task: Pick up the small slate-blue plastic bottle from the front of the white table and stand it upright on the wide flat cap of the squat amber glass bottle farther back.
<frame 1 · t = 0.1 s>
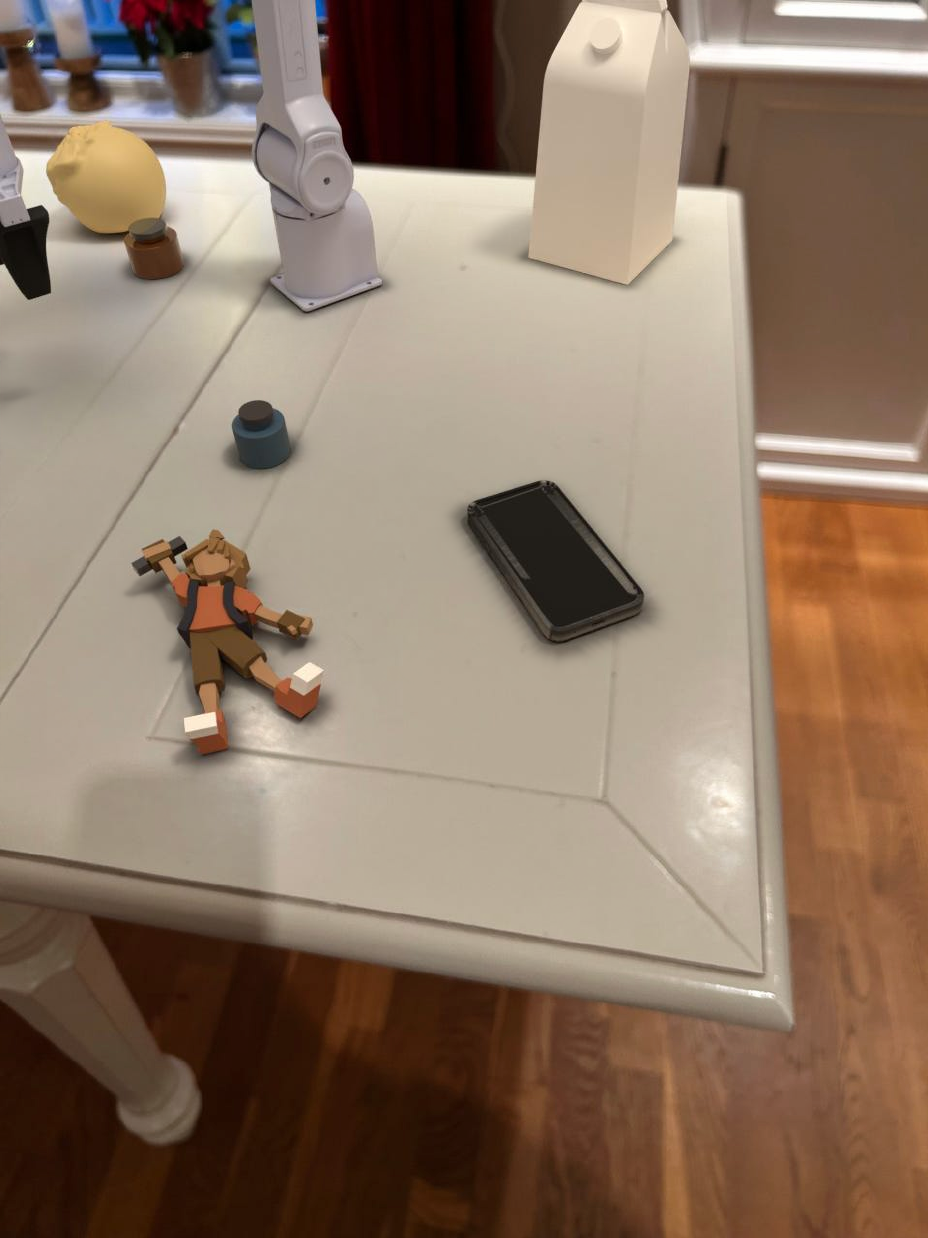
hand: (24, 277, 79), 10 cm above the table, tool pointing down, fingers open, 7 cm apart
slate bottle: (265, 452, 78), on the table
character figurine: (231, 646, 64), on the table
phone: (549, 562, 69), on the table
sculpture: (123, 224, 109), on the table
amber bottle: (158, 266, 101), on the table
milk: (600, 250, 102), on the table
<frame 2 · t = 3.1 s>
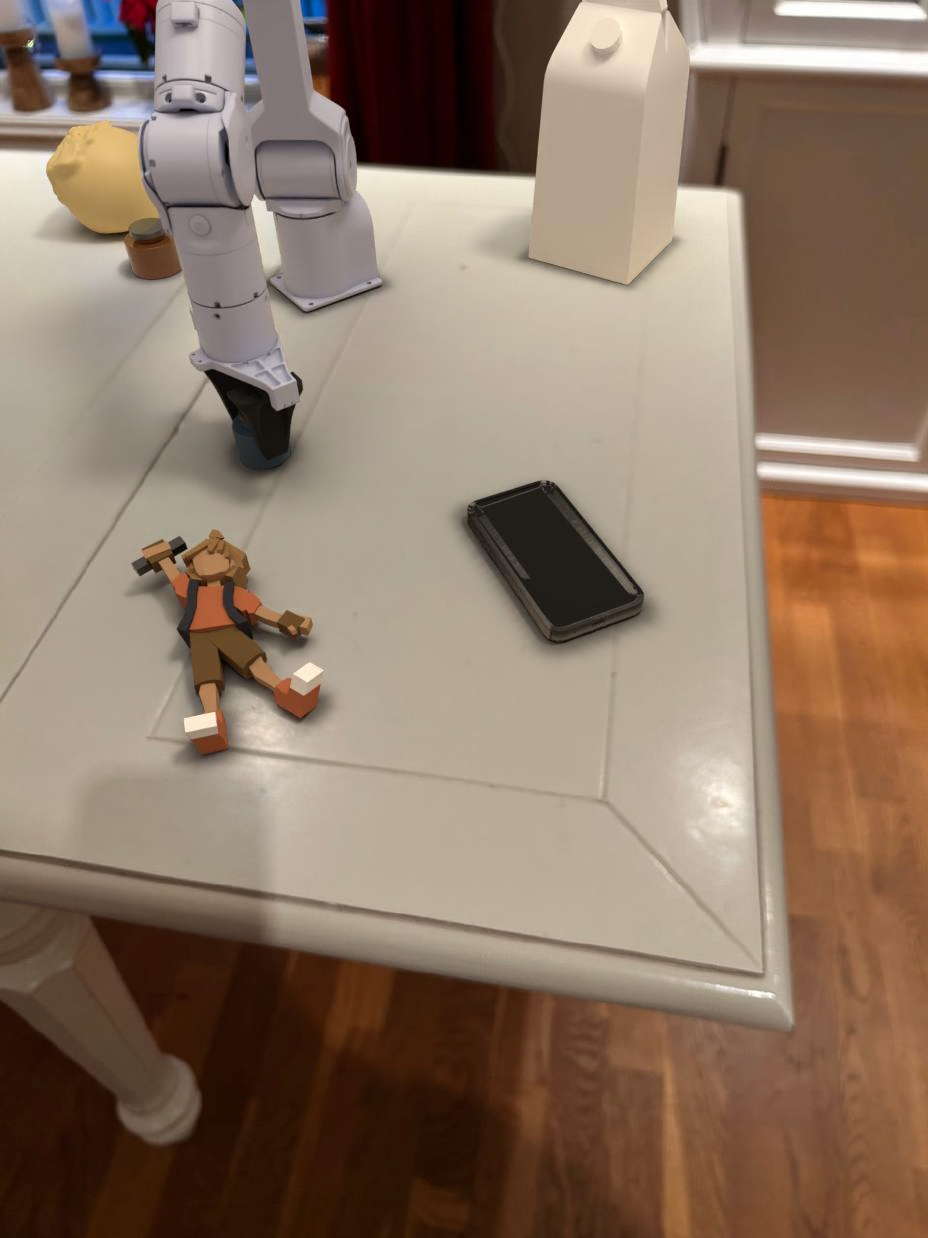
hand: (262, 439, 77), 1 cm above the table, tool pointing down, fingers closed on slate bottle, 4 cm apart
slate bottle: (265, 452, 78), on the table, touching gripper
everything else where it was.
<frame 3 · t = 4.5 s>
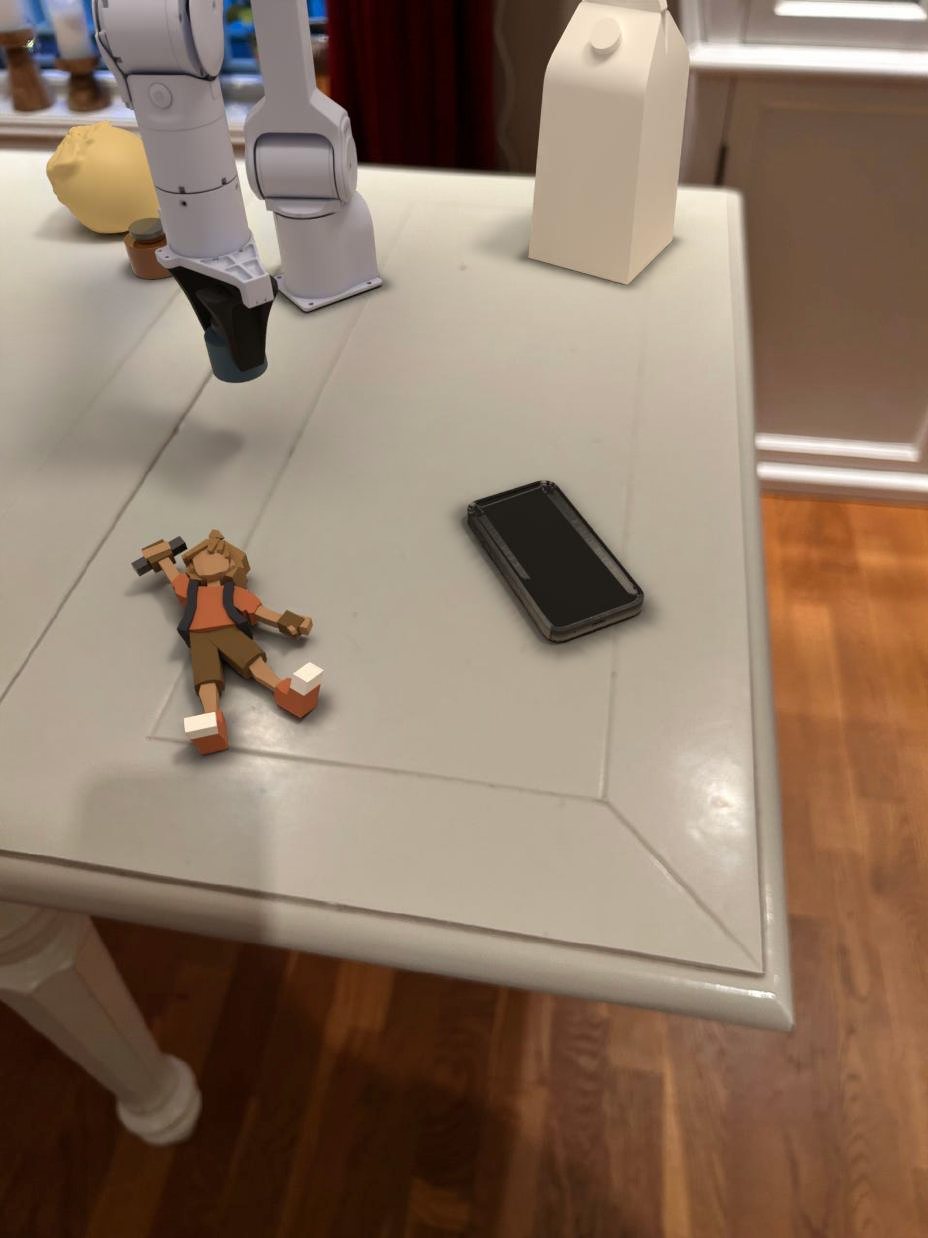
hand: (236, 351, 73), 9 cm above the table, tool pointing down, fingers closed on slate bottle, 4 cm apart
slate bottle: (240, 367, 74), point 8 cm above the table, touching gripper
everything else where it was.
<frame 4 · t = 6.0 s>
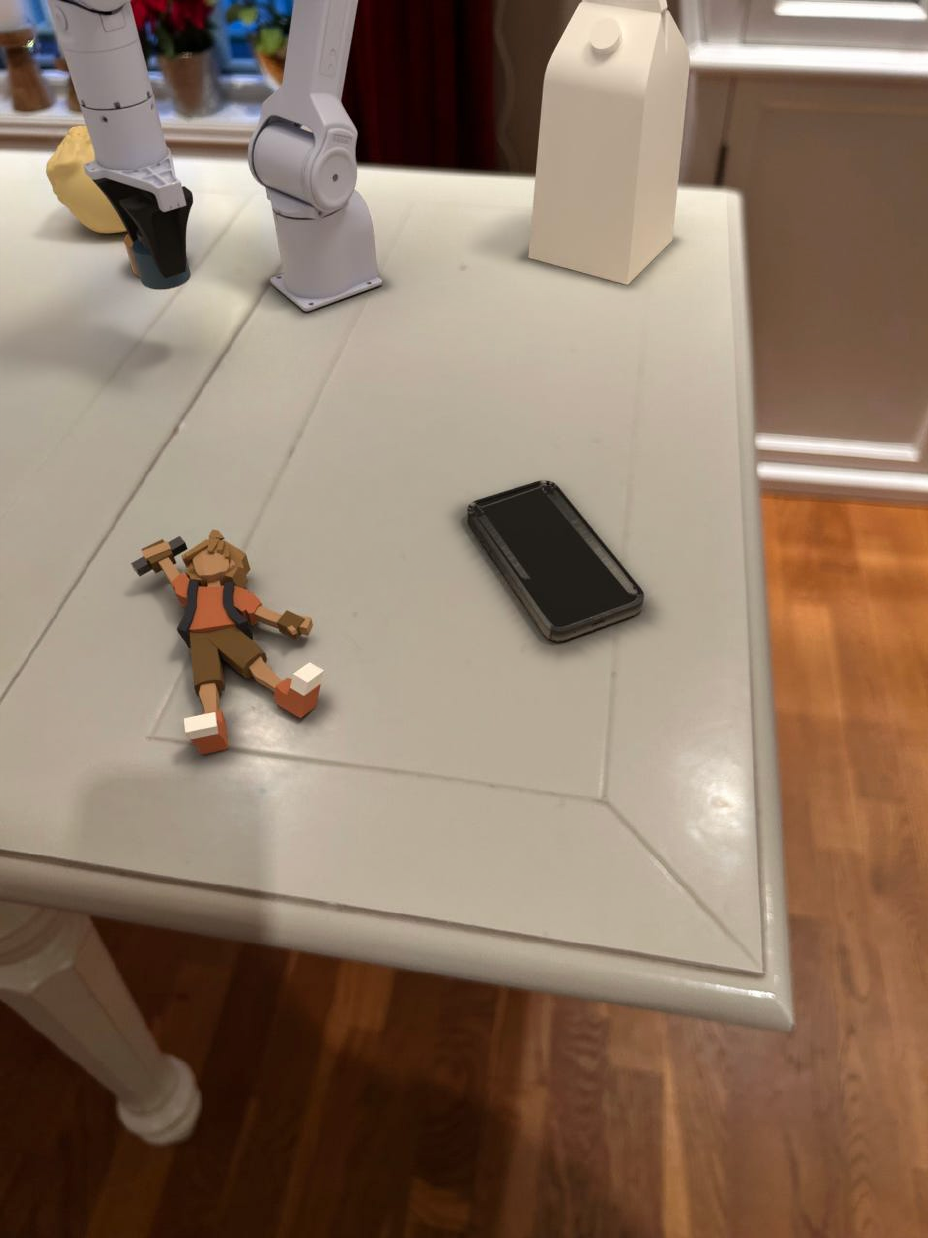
hand: (162, 262, 82), 9 cm above the table, tool pointing down, fingers closed on slate bottle, 4 cm apart
slate bottle: (166, 277, 83), point 8 cm above the table, touching gripper
everything else where it was.
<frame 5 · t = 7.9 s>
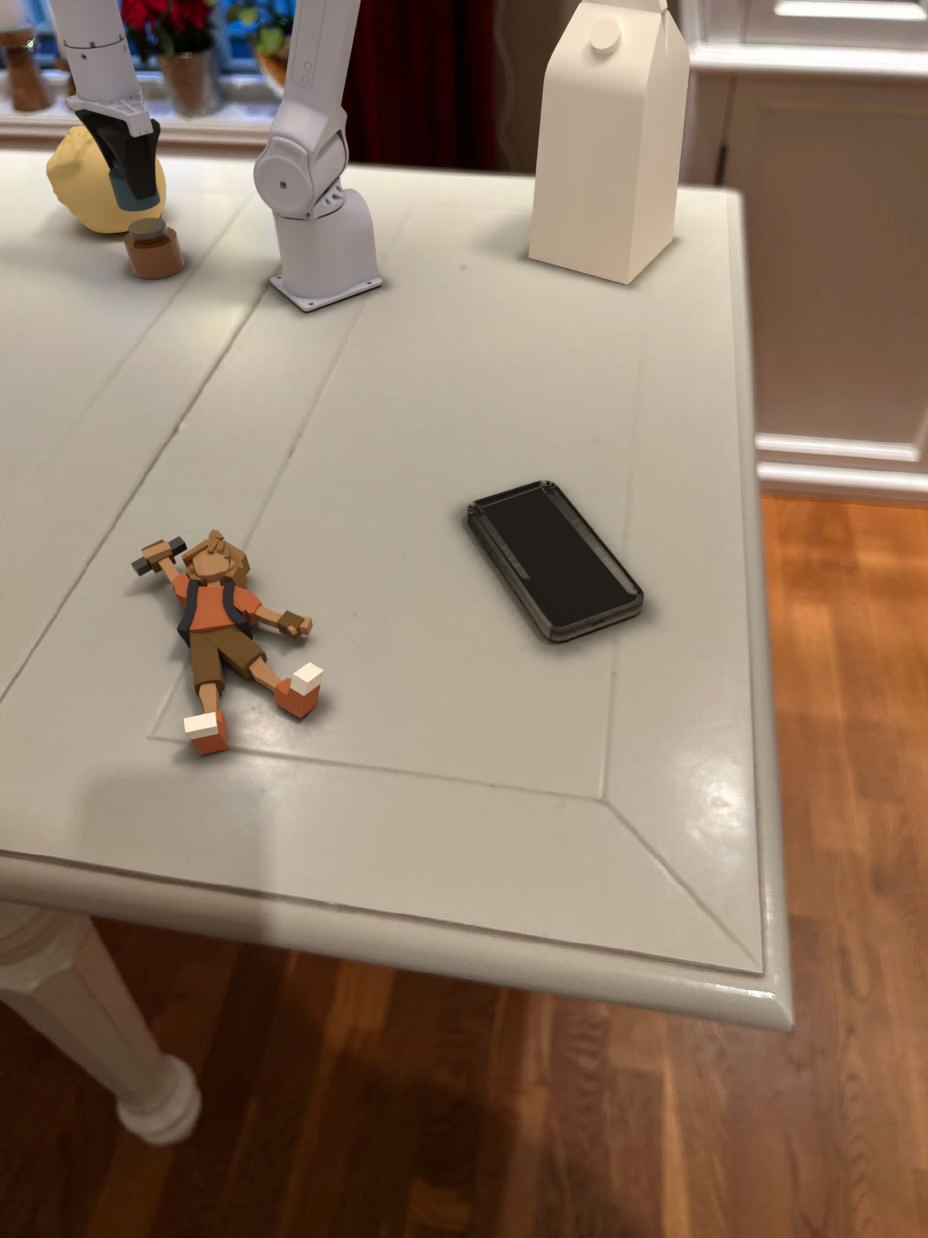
hand: (136, 188, 95), 9 cm above the table, tool pointing down, fingers closed on slate bottle, 4 cm apart
slate bottle: (139, 202, 96), point 7 cm above the table, touching gripper
everything else where it was.
when the fingers open (6 cm above the table, at t = 9.1 s): slate bottle stays where it is, resting on amber bottle.
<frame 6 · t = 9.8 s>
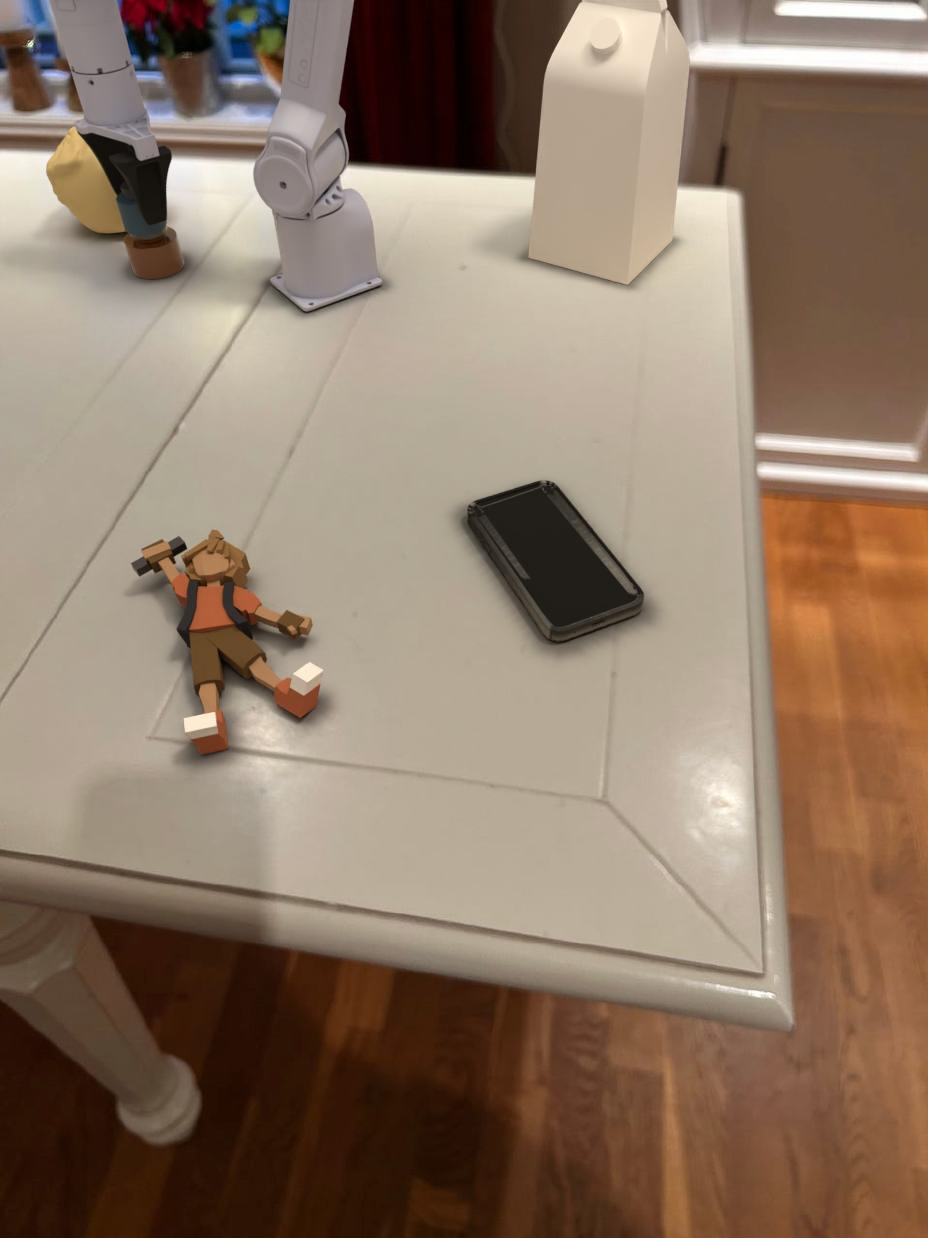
hand: (142, 208, 96), 6 cm above the table, tool pointing down, fingers open, 7 cm apart
slate bottle: (146, 226, 98), point 5 cm above the table, touching amber bottle
amber bottle: (158, 266, 101), on the table, touching slate bottle
everything else where it was.
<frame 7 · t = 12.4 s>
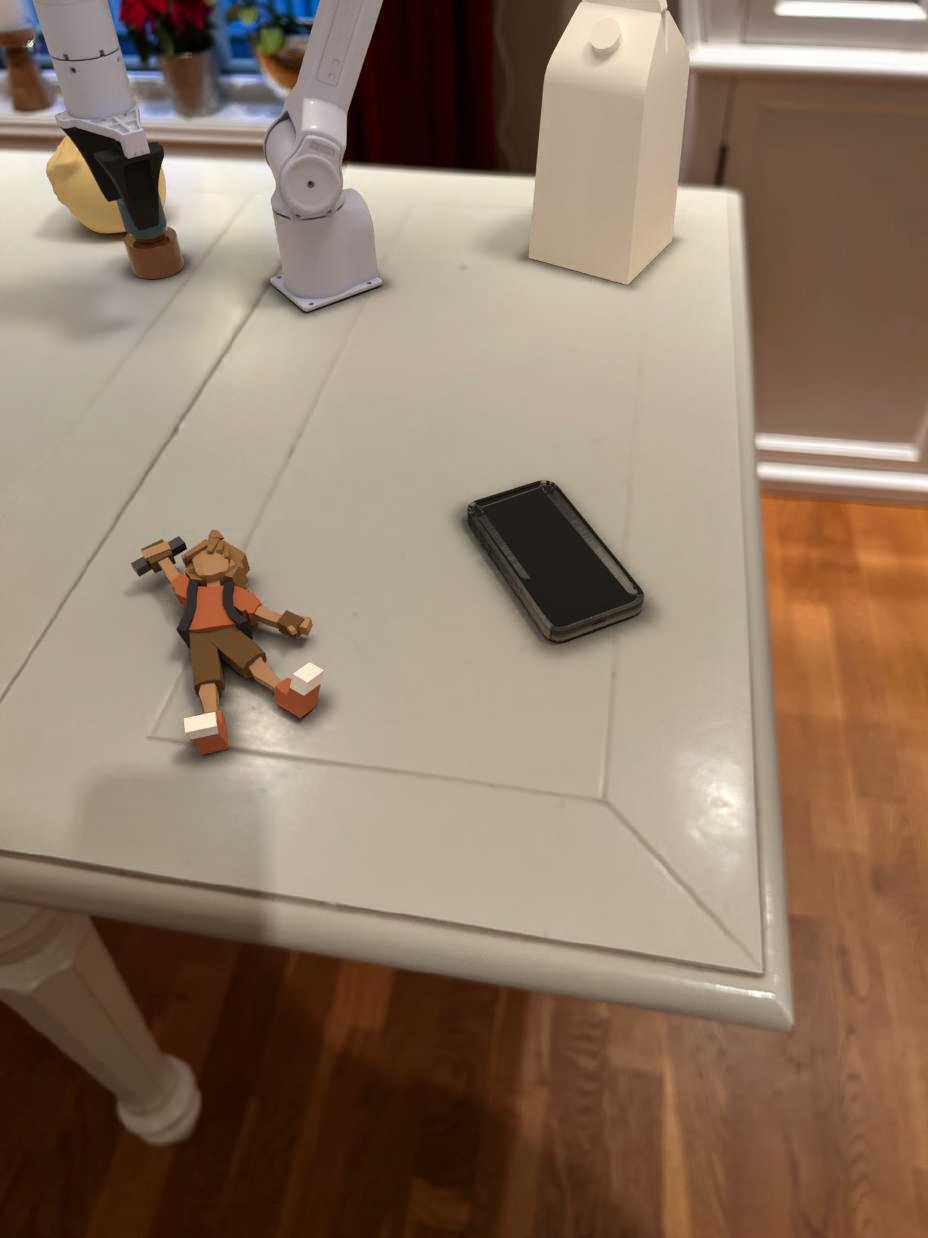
hand: (132, 212, 87), 10 cm above the table, tool pointing down, fingers open, 7 cm apart
nothing on the table moved.
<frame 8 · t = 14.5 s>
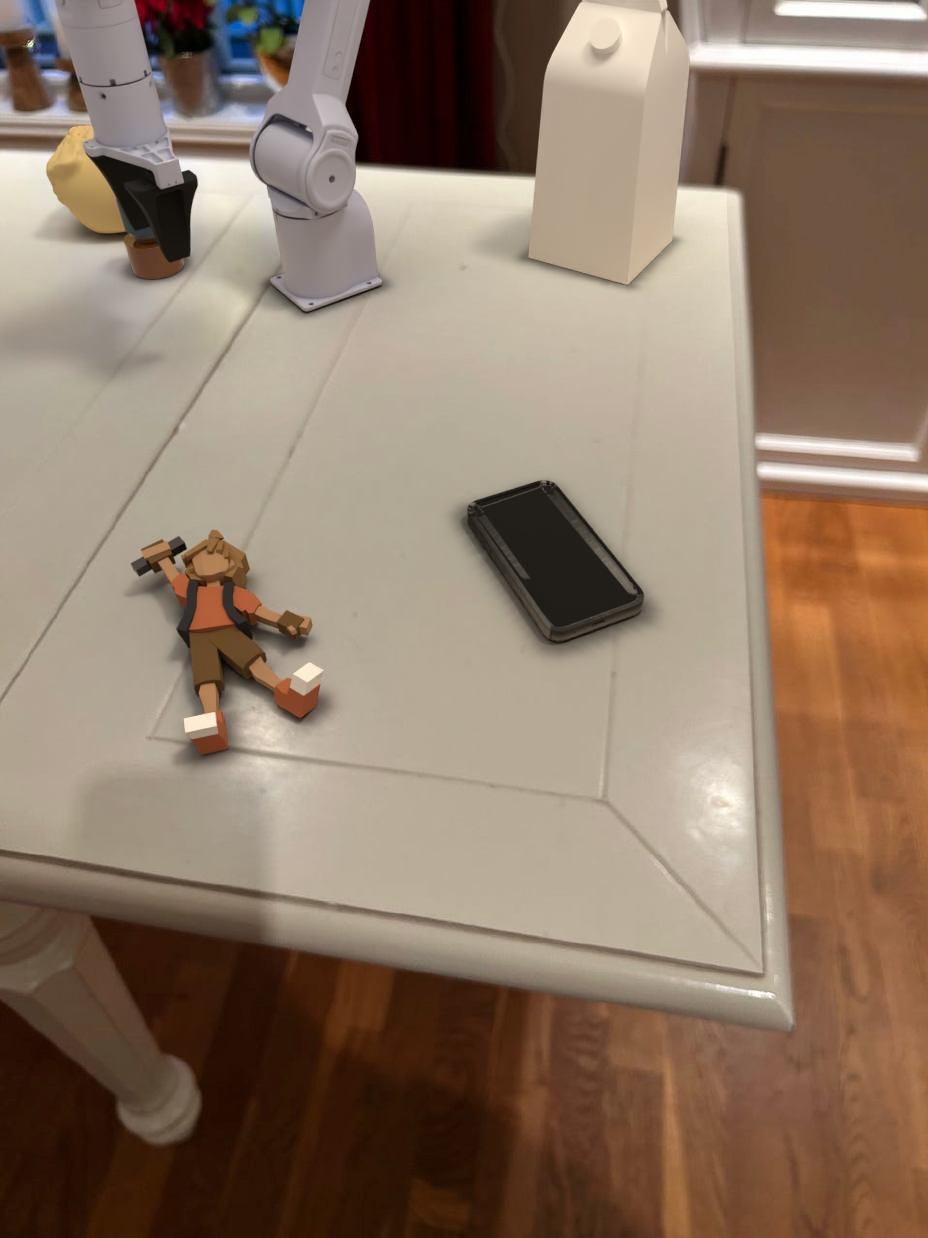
hand: (161, 241, 82), 10 cm above the table, tool pointing down, fingers open, 7 cm apart
nothing on the table moved.
at the end: slate bottle 0.1 cm off-centre on the amber bottle, point 4.6 cm above the amber bottle's base; slate bottle tilted 0°; the gripper is holding nothing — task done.
